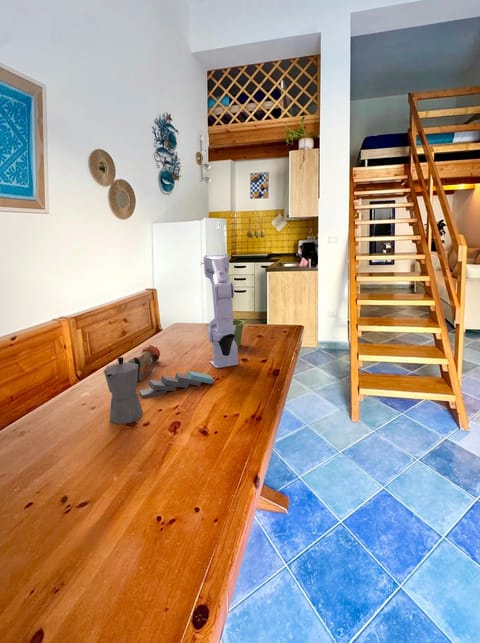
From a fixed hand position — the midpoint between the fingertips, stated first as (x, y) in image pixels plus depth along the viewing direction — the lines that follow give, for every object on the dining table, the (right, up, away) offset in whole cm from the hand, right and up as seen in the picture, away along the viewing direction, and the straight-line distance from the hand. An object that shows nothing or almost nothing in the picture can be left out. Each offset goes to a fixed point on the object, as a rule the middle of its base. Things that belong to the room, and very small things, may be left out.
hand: (226, 355), depth 134 cm
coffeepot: (-27, -16, -23) cm, 39 cm away
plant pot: (+1, 0, +41) cm, 41 cm away
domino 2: (-18, -10, -6) cm, 21 cm away
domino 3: (-14, -9, -4) cm, 17 cm away
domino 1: (-20, -11, -7) cm, 24 cm away
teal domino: (-5, -9, -1) cm, 10 cm away
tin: (-31, -9, +7) cm, 33 cm away
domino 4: (-9, -9, -2) cm, 13 cm away
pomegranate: (-31, -5, +22) cm, 38 cm away
